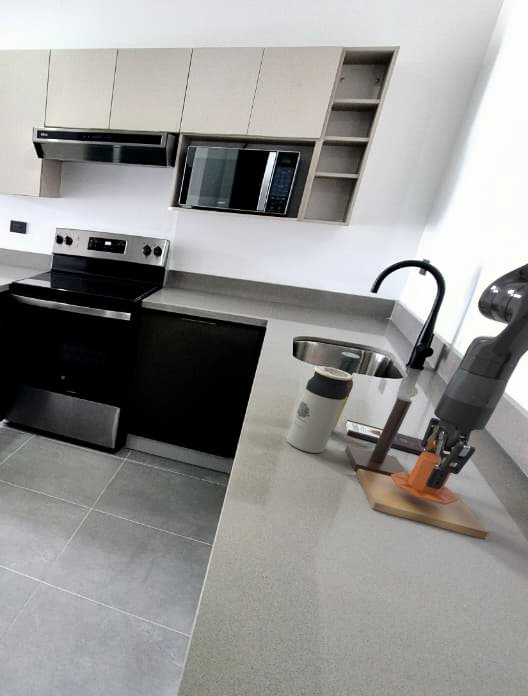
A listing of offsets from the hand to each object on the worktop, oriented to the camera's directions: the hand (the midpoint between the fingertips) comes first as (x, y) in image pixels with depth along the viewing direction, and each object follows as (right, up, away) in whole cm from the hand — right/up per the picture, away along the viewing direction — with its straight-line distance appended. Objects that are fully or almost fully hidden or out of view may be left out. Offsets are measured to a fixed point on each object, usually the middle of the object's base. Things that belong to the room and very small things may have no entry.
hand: (427, 479), depth 94 cm
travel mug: (-12, +5, +21) cm, 25 cm away
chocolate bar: (+13, +6, +30) cm, 34 cm away
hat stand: (0, +1, +16) cm, 16 cm away
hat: (0, -2, +1) cm, 2 cm away
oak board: (-1, -5, +2) cm, 5 cm away
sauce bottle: (-3, +8, +31) cm, 32 cm away
